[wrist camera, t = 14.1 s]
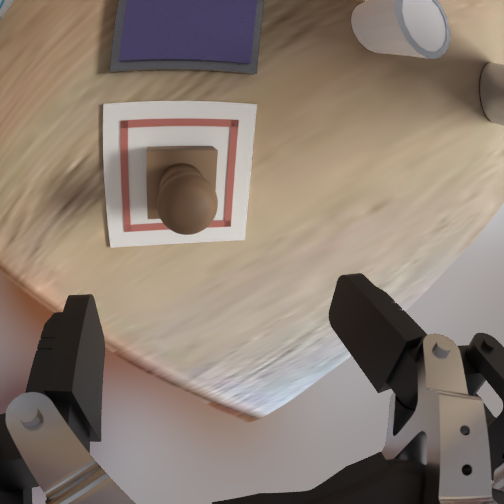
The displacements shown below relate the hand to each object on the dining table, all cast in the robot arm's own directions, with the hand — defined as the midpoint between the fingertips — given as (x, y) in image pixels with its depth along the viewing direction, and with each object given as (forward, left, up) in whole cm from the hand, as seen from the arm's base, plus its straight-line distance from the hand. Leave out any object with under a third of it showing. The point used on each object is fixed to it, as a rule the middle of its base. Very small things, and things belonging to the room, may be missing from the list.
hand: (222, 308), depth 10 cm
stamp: (0, 0, -17) cm, 17 cm away
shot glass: (-17, -16, -17) cm, 29 cm away
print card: (0, 0, -17) cm, 17 cm away
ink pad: (0, -13, -17) cm, 21 cm away
